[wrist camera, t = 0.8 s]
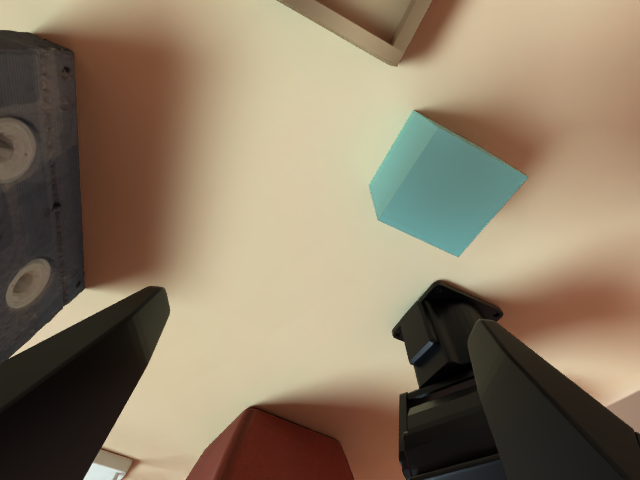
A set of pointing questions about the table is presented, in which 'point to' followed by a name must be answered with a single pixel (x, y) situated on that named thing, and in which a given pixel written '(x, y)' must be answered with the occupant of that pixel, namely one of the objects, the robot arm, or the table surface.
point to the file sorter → (108, 467)
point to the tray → (368, 22)
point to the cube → (440, 185)
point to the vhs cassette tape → (37, 187)
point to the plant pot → (270, 452)
